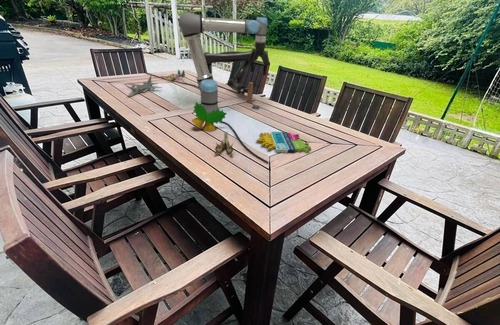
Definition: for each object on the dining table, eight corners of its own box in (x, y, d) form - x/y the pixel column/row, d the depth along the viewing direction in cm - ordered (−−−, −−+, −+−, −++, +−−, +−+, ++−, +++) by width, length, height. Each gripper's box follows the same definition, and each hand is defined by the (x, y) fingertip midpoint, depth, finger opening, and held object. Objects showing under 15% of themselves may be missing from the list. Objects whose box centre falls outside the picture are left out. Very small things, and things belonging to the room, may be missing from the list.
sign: (313, 150, 142) (258, 149, 139) (312, 153, 143) (258, 152, 140) (301, 132, 164) (254, 130, 161) (301, 134, 165) (254, 133, 162)
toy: (193, 71, 287) (180, 75, 262) (193, 77, 291) (181, 82, 265) (170, 68, 292) (155, 72, 266) (170, 75, 296) (156, 79, 270)
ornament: (218, 133, 171) (224, 110, 169) (221, 134, 163) (227, 111, 161) (186, 125, 162) (192, 101, 160) (189, 126, 155) (195, 101, 153)
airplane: (122, 86, 237) (119, 75, 232) (157, 84, 250) (156, 74, 245) (126, 99, 209) (123, 86, 204) (166, 96, 222) (165, 84, 217)
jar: (246, 101, 223) (247, 82, 216) (251, 100, 225) (252, 82, 217) (247, 102, 220) (248, 83, 212) (252, 102, 221) (254, 83, 213)
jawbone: (234, 135, 144) (233, 125, 135) (233, 160, 138) (232, 151, 129) (217, 135, 144) (216, 125, 135) (216, 160, 138) (214, 150, 129)
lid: (260, 108, 208) (260, 105, 206) (255, 109, 204) (255, 107, 203) (255, 106, 211) (256, 104, 210) (251, 107, 208) (251, 105, 206)
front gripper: (276, 44, 178) (273, 76, 189) (252, 40, 194) (250, 70, 205) (269, 44, 174) (266, 77, 184) (244, 40, 190) (243, 70, 200)
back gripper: (233, 84, 227) (241, 89, 215) (247, 83, 234) (256, 88, 221) (232, 93, 231) (240, 98, 219) (247, 92, 237) (255, 97, 225)
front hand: (258, 73), depth 194 cm, fingers open, 13 cm apart
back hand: (248, 93), depth 220 cm, fingers open, 8 cm apart
